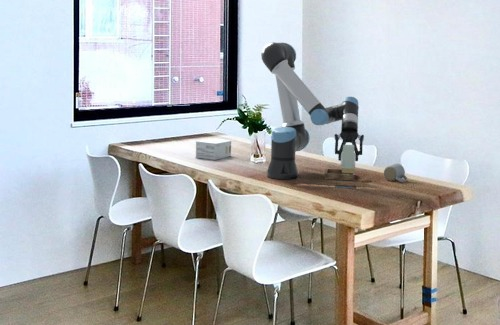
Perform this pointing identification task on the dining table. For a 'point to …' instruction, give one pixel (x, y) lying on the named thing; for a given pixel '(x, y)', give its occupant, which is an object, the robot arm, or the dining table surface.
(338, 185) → the coaster
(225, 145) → the supplement box
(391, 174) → the ceramic mug
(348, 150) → the block
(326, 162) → the dining table surface
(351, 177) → the crate
